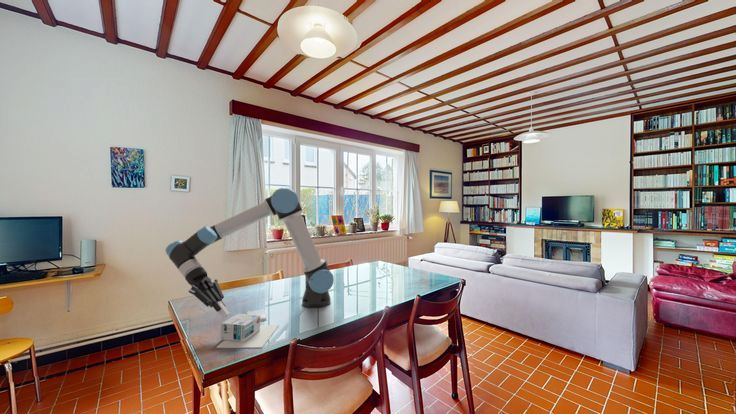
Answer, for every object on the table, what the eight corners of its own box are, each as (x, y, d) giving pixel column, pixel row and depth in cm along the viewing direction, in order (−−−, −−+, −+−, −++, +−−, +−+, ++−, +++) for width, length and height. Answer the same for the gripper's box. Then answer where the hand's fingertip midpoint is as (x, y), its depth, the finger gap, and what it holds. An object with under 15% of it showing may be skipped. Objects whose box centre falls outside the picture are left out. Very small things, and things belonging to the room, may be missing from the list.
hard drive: (246, 311, 136) (247, 320, 125) (264, 308, 139) (266, 317, 128) (246, 314, 136) (247, 324, 125) (264, 312, 139) (266, 321, 128)
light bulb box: (219, 339, 108) (244, 343, 106) (220, 322, 108) (244, 325, 106) (238, 328, 119) (260, 331, 116) (238, 312, 119) (261, 315, 116)
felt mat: (278, 325, 122) (278, 325, 122) (262, 347, 103) (262, 347, 103) (240, 325, 122) (240, 325, 122) (216, 347, 103) (216, 347, 103)
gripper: (201, 274, 124) (232, 315, 120) (174, 282, 112) (208, 328, 107) (211, 263, 123) (243, 304, 119) (184, 269, 110) (219, 315, 106)
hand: (226, 315), depth 113 cm, fingers closed
